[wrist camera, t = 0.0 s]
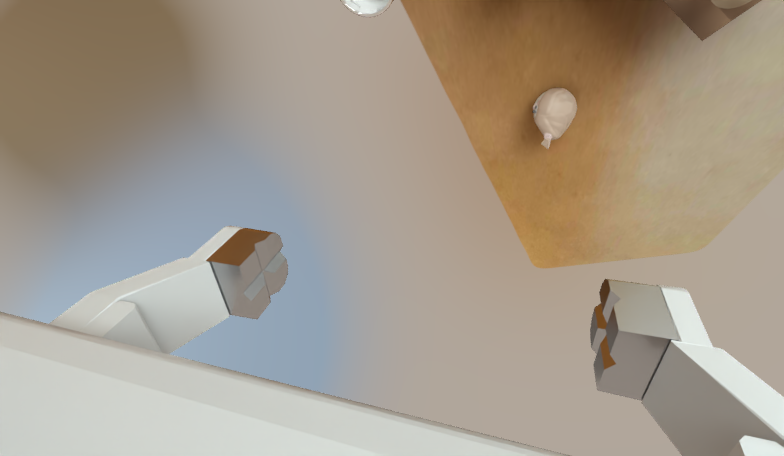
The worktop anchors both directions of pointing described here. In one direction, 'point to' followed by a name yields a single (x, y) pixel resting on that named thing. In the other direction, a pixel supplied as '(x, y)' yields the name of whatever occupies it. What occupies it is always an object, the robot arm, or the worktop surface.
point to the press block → (705, 15)
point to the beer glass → (367, 7)
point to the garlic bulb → (554, 113)
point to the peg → (729, 3)
